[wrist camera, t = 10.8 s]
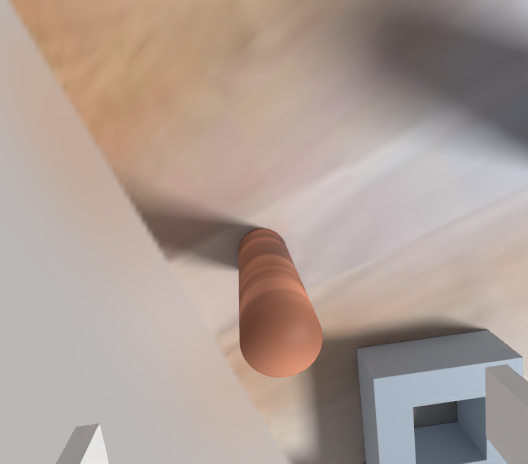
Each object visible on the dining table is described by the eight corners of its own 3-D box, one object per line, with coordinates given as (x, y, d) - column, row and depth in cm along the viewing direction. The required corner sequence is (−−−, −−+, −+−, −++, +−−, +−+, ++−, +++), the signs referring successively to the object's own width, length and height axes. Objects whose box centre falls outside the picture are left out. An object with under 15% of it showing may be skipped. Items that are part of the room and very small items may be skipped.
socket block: (356, 348, 39) (373, 379, 34) (487, 329, 40) (523, 357, 35) (365, 462, 42) (382, 506, 37) (488, 444, 42) (521, 484, 37)
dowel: (235, 232, 36) (234, 306, 21) (283, 225, 36) (318, 295, 21) (241, 277, 37) (245, 383, 22) (288, 271, 37) (326, 371, 22)
